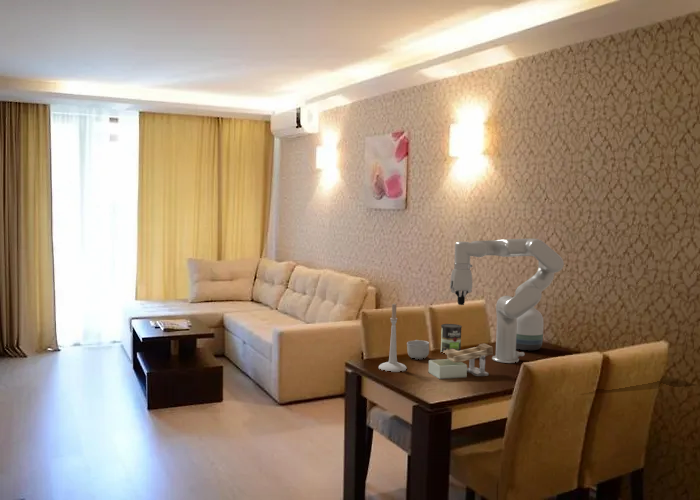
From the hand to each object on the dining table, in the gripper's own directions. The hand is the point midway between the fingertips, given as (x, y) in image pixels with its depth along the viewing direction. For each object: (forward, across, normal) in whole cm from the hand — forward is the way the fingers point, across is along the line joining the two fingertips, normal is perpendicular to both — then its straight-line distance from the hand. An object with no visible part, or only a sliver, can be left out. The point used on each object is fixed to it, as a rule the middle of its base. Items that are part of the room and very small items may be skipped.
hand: (460, 304), depth 286 cm
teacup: (+27, +18, -9) cm, 34 cm away
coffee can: (+27, -3, -15) cm, 31 cm away
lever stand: (+27, +4, +24) cm, 36 cm away
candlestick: (+27, +38, +8) cm, 47 cm away
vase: (+27, -47, -14) cm, 56 cm away
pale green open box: (+27, +18, +24) cm, 41 cm away
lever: (+20, +7, +20) cm, 29 cm away
